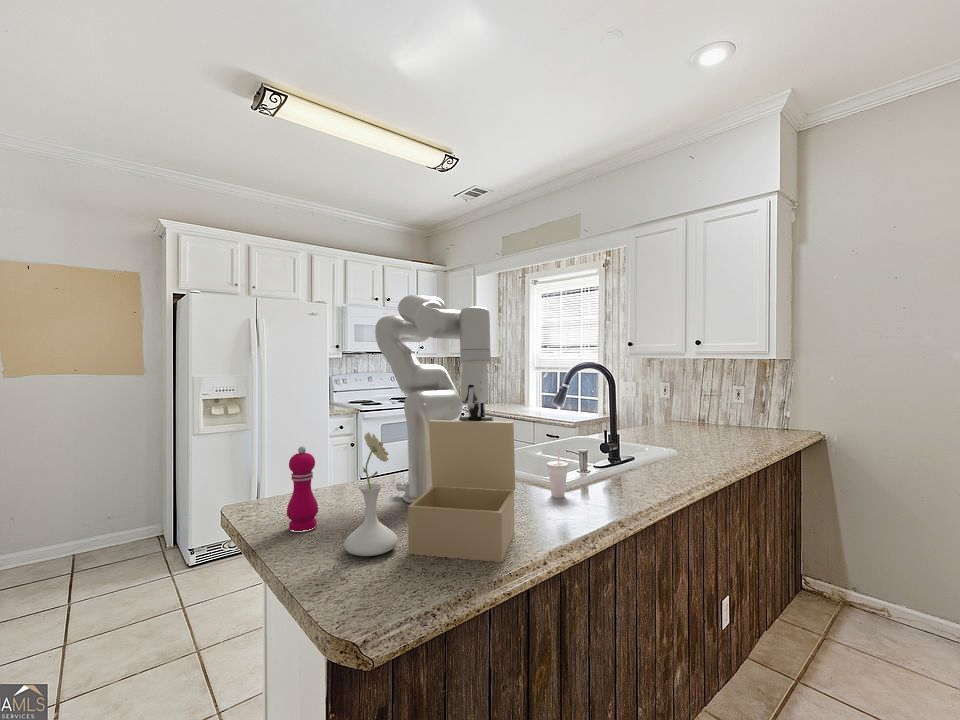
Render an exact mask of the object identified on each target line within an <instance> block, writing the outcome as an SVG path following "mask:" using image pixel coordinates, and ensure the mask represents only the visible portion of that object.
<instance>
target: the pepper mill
mask: <svg viewBox="0 0 960 720" xmlns="http://www.w3.org/2000/svg"><path fill="white" fill-rule="evenodd" d="M297 451H298V453H296V454H293V455H292V456H291V457H290V459H289V461H288V468H289V470H290V471H291V472H292V473H291V474H290V476H291V478H290V479H291V481H292V482H293V490H292V495H291V497H290V500H289V501H288V503H287V507H286V516H287V518H288V519H289V520H290V521H289V522H288V530H289V529H290V530H294V531H303V530H309V529H312V528H314V527H315V526H316V527H317V519H316V518H315V517H316V516H317V515H318V512H319V504H318V501H317V500H316V498H315V496H314V493H313V489H312V479H313V478H314V472H313V470H314V468H315V466H316V460H315V457H314V456H313V454H311V453H309V452H306V447H305V446H299V448H298V449H297Z"/></svg>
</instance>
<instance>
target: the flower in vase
mask: <svg viewBox="0 0 960 720" xmlns="http://www.w3.org/2000/svg"><path fill="white" fill-rule="evenodd" d="M363 437H364V440H365V443H366V445H367V447H368V448H369V450H370V452H369V454H368V457H367V459H366V462H365V463H366V464H365V467H364V466H362V469H363V471H362V472H363V473H365V475H366V480H367V483H364V484H360V485H359V486H358V489H359V490H360V492H361V493H362V495H363V499H364V504H365V505H364V506H365V517H364V520H363V522H362V523H361V525H359V526H358V527H357V528H355V530H353V532H351V533H350V534H349V535H348V537H347V538H346V539H345V541H344V543H343V547H344V549H345V551H346V552H347V553H348V554H351V555H355V556H358V557H359V556H360V557H373V556H379V555H382V554H385V553H388V552H390V551H392V550H393V549H394V548H396V546H397V544H398V543H399V538H398V536H397V534H396V533H395V532H394V531H393V530H392V529H390V528H388V527H387V526H386V525H385V524H383V523H382V522H380V521H379V519H378V517H377V504H378V503H377V501H378V496H379V493H380V491H381V489H382V488H383V484H381V483H376V482H375V483H373V482H372V483H371V481H370V479H372V478H373V477H375V476H376V475H378V474H379V472H378V471H375V472H374V473H373V474H372V475H369V473H368V464H369V461H370V459H371V457H372V454H373V455H374V456H376V458H377V459H378V460H379V461H381V462H384V463H386V462H387V461H389V458H388V456H389V452H387V450H386V448H385V447H384V443H383V442H382V441H379V438H377V436H376V435H375V434H374V433H372V434H371V433H370V432H369V431H368V432H367V433H365V434H364V436H363Z"/></svg>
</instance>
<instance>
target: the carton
mask: <svg viewBox="0 0 960 720" xmlns="http://www.w3.org/2000/svg"><path fill="white" fill-rule="evenodd" d="M407 526H408V527H407V537H408V538H407V540H408V541H407V542H408V544H407V545H408V552H407V553H408V555H412V554H414V555H413V556H423V555H425V556H426V557H434V556H436V557H437V558H445V557H447V559H457V558H459V559H460V558H461V559H460V560H468V559H469V560H470V561H479V560H480V561H481V560H482V562H490V561H496V562H495V563H501V562H502V561H504V560H505V557H506V555H507V552H508V550H509V548H510V545H511V543H512V540H513V538H514V536H515V491H514V490H495V489H477V488H458V487H436V486H432V487H431V488H430V489H429V490H428V491H426V492H425V493H424V494H423V495H421V496H420V497H419V498H418V499H417V500H415V501H414V502H413V503H412V504H411V503H410V504H409V505H408V506H407ZM508 547H509V548H508ZM505 554H506V555H505ZM459 559H458V560H459ZM502 563H503V562H502Z"/></svg>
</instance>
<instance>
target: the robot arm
mask: <svg viewBox="0 0 960 720" xmlns="http://www.w3.org/2000/svg"><path fill="white" fill-rule="evenodd" d="M397 311H398V313H399V315H396V314H395V315H386V316H382V317H380V318H379V319H378V320H377V321H376V324H375V330H374V335H375V341H376V344H377V346H378V349H379V351H380V352H381V354H382V355H383V357H384V358H385V360H386V361H387V362H388V363H387V364H389V366H390V368H391V371H392V373H393V375H394V378H395V380H396V382H397V385H398V387H399V389H400V391H401V392H402V393H403V394H405V395H407V396H406V398H405V399H404V403H403V411H404V417H405V420H406V429H407V463H408V464H407V465H408V467H407V468H408V474H407V475H408V479H407V480H408V481H407V482H405V483H404V482H396V484H395V488H396V491H399V492H402V491H403V492H404V494H403V496H402V497H403V501H404V502H406V503H408V504H410V505H411V504H412V503H413V502H414V501H415V500H417V499H418V498H419V497H420V496H421V495H423V494H424V493H425V492H426V491H428V490H429V489H430V488H431V487H432V476H431V455H430V434H429V421H430V420H444V421H456V419H458V418H460V417H461V415H462V412H463V404H464V405H465V404H467V408H468V409H467V410H468V417H469V421H482V417H486V415H485V414H486V411H485V409H486V408H485V407H486V406H485V404H486V402H487V401H488V400H489V391H490V390H489V373H488V372H489V371H488V364H489V363H492V361H491V359H492V358H491V357H492V356H491V325H490V324H491V322H490V321H491V319H490V318H491V317H490V310H489V309H488V308H486V307H484V306H483V307H482V306H468V307H464V308H462V309H461V310H458V309H447V308H446V304H445V302H444V301H443V300H442V299H441V298H440V297H437V296H432V295H420V294H419V295H418V294H412V295H411V294H410V295H406V296H405V297H403V298H401V300H400V301H399V303H398V304H397ZM430 338H432V339H438V340H439V339H440V340H441V339H444V340H445V339H446V340H447V339H450V340H459V350H460V351H459V354H460V355H459V356H460V357H459V358H460V359H459V360H460V362H459V363H460V364H462V366H461V377H460V378H461V381H460V383H461V384H460V393H459V391H458V390H457V387H456V385H455V383H454V382H453V379H452V378H451V376H450V373H448V371H447V369H446V368H445V367H443V366H442V365H440V364H436V363H432V364H431V363H421V362H420V361H419V360H418V359H417V356H416V354H415V353H414V351H412V350H411V348H409V347H408V346H407V345H406V344H404V343H423V342H425V341H427V340H429V339H430ZM436 487H439V486H436Z"/></svg>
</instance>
